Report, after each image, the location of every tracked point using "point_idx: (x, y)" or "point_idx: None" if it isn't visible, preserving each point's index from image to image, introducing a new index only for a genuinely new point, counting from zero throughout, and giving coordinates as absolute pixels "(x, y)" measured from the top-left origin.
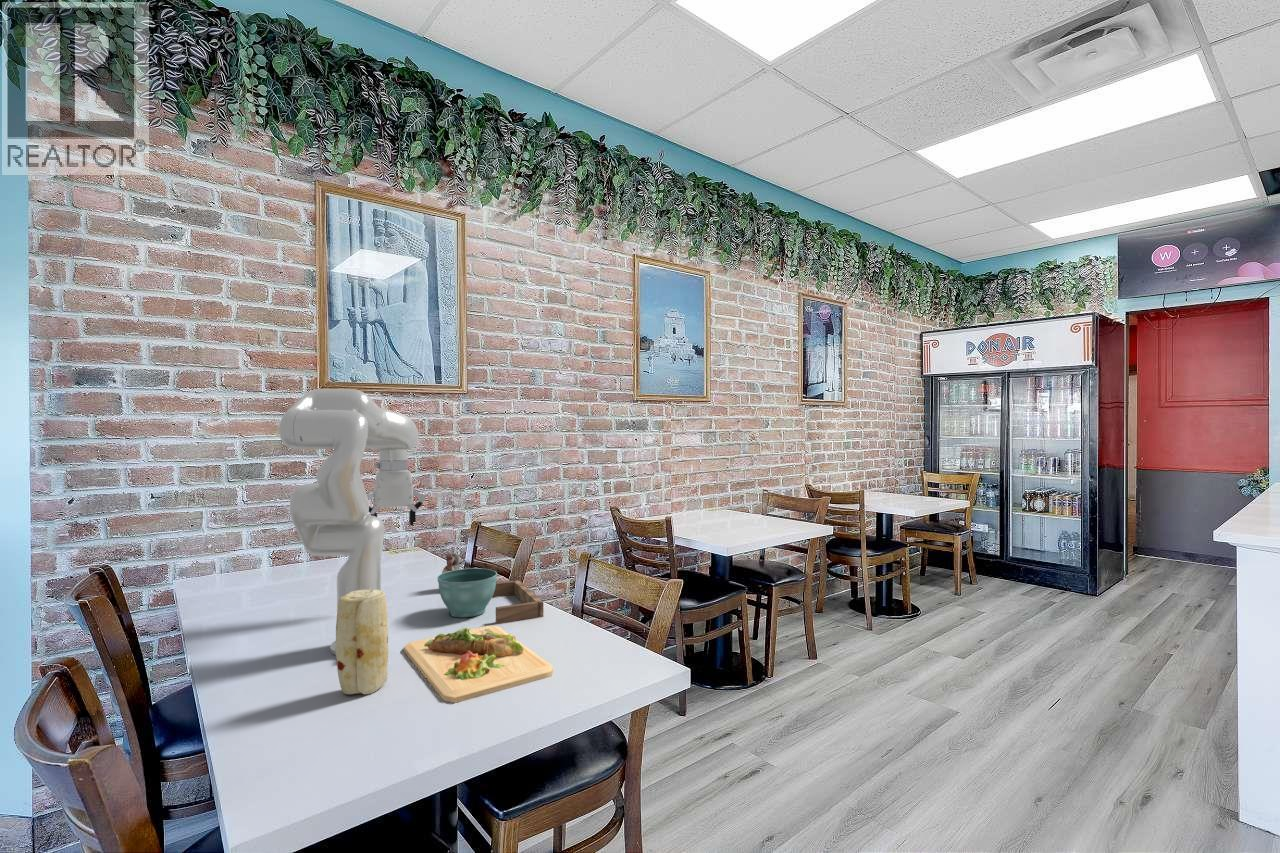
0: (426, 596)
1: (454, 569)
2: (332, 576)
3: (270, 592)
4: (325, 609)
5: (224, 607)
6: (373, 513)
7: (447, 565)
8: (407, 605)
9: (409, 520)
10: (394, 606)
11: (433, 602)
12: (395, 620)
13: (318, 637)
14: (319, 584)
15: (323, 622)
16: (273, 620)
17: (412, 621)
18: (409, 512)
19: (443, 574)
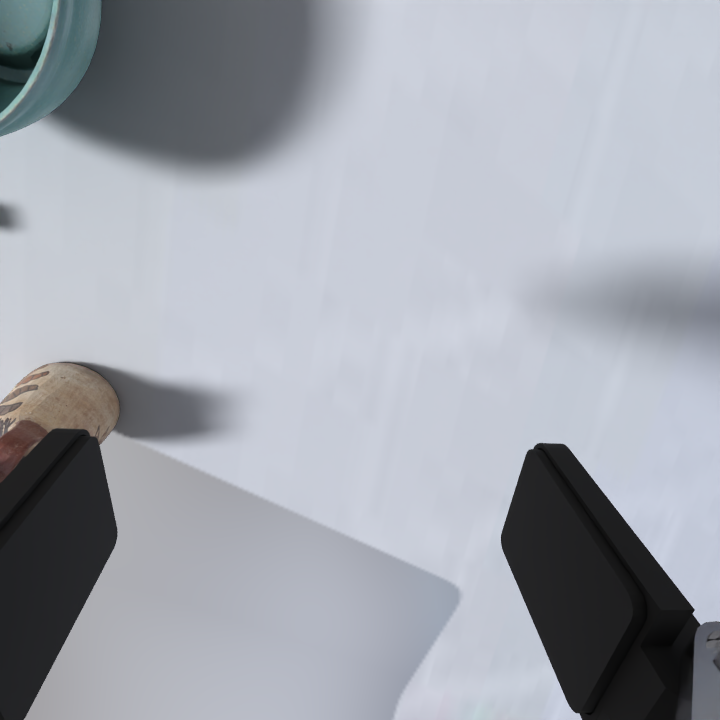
0: (182, 365)
1: (6, 425)
2: (418, 678)
3: None
4: (519, 391)
5: (712, 537)
6: (706, 648)
7: (29, 443)
8: (266, 286)
9: (92, 570)
10: (313, 301)
11: (161, 269)
12: (343, 95)
13: (643, 50)
14: (465, 627)
15: (568, 245)
16: (672, 358)
17: (279, 25)
18: (19, 702)
19: (21, 94)
